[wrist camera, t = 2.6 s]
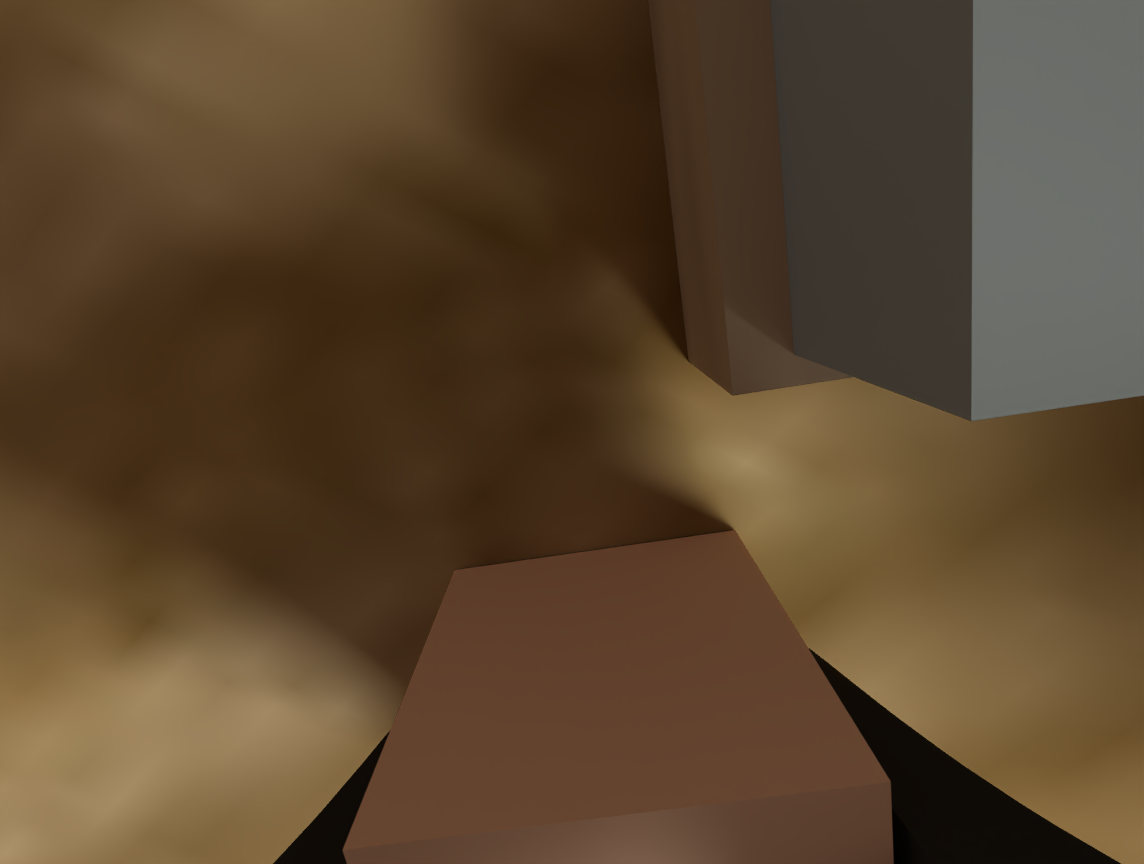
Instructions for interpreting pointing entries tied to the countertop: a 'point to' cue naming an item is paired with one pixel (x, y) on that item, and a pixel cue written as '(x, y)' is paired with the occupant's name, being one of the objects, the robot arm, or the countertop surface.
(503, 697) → the terracotta block
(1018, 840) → the robot arm
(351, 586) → the countertop surface
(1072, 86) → the top slab
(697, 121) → the base slab
